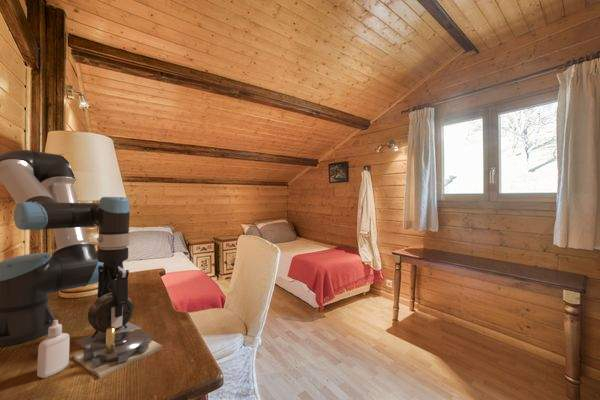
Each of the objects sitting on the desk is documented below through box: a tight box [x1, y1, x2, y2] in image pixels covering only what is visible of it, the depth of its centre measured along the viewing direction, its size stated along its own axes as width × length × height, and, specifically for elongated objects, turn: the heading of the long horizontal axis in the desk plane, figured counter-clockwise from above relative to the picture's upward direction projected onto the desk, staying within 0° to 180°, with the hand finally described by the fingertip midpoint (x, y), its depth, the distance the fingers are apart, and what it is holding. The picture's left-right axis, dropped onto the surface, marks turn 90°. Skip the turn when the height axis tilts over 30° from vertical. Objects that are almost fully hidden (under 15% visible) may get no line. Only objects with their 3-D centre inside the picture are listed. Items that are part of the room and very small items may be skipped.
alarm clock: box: [87, 283, 135, 338], centre depth 79 cm, size 11×5×16 cm, turn 141°
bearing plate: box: [72, 339, 164, 379], centre depth 70 cm, size 15×15×1 cm
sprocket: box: [83, 327, 153, 366], centre depth 70 cm, size 15×15×8 cm
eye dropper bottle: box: [36, 319, 71, 379], centre depth 62 cm, size 4×6×12 cm
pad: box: [75, 321, 143, 350], centre depth 79 cm, size 8×14×1 cm, turn 149°
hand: (111, 324), depth 79 cm, fingers open, 6 cm apart
